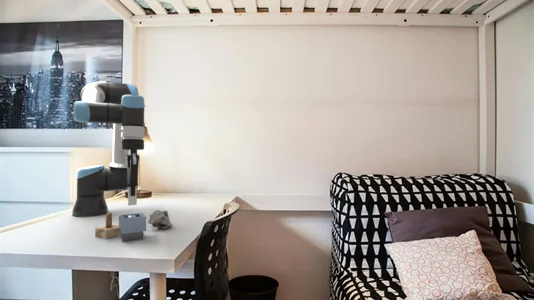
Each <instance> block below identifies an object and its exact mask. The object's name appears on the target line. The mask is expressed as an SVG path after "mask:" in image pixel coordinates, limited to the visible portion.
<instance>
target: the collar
mask: <svg viewBox="0 0 534 300" xmlns="http://www.w3.org/2000/svg"><path fill="white" fill-rule="evenodd" d="M130 215H136V217H132V218H128V216H130ZM118 226H119V231H120V233H121V234H127V233H135V232H143V231H144V232H147V216H146V215H145V214H144V213H143V212H137V213H136V212H135V213H126V214H125V213H124V214H118Z"/></svg>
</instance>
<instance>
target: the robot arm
mask: <svg viewBox="0 0 534 300" xmlns="http://www.w3.org/2000/svg"><path fill="white" fill-rule="evenodd" d="M80 99H81V100H77V101H75V102H74V104H73V120H74V121H75V122H78V123H84V124H87V123H89V124H91V123H92V124H96V123H97V124H110V125H111V124H113V128H112V129H113V131H112V161H111V162H110V163H109V165H108V167H105V165H103V164H102V165H92V166H86V167H81V168H78V170H77V172H76V178H75V179H76V199H75V200H76V201H75V202H74V204H73V208H72V212H71V214H72V216H73V217H94V216H100V215H101V216H102V215H104V214H105V215H106V214H107V213H108V212H109V211H108V210H109V208H108V205H107V201H106V199H105V192H118V191H120V192H121V191H123V192H124V191H125V192H126V191H127V193H128V194H127V205H128V206H137V204H138V203H137V202H138V200H137V198H138V188H137V187H138V186H139V182H138V181H139V180H138V179H139V178H138V177H139V163H140V155H139V154H138V151H143V150H145V140H144V138H145V107H146V105H145V98H144V96H142V95H140V94H139V91H138V87H137V86H136V85H134V84H130V83H121V82H113V81H112V82H111V81H104V80H103V81H94V82H91V83H88V84H86V85H85V86H83V87H82V89H81V91H80Z"/></svg>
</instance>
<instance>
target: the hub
mask: <svg viewBox="0 0 534 300" xmlns="http://www.w3.org/2000/svg"><path fill="white" fill-rule="evenodd" d="M132 217H136V215H130V216H128V218H132ZM144 232H145V231H143V232H135V233H127V234H121V235H120V239H121V243H125V242H126V243H128V242H133V241H142V240H144V235H145V234H144Z"/></svg>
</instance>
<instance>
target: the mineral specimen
mask: <svg viewBox="0 0 534 300" xmlns="http://www.w3.org/2000/svg"><path fill="white" fill-rule="evenodd" d="M147 223H148V224H149V225H151V226H152V227H153V228H157V229H169V228H170V227H173V223H171V221H170V217H169V213H168V211H167V210H159V209H158V210H154V211H153V212H152V213H151V214H150V215H149V218H148V219H147Z"/></svg>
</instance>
